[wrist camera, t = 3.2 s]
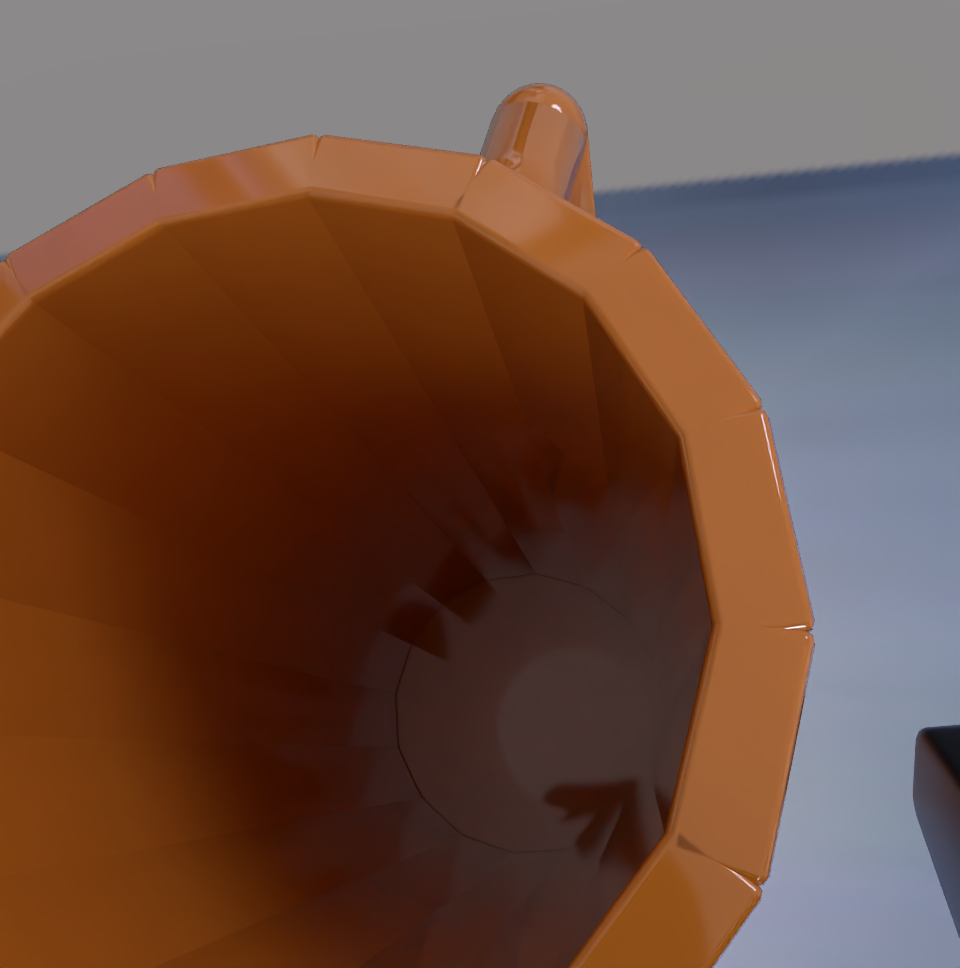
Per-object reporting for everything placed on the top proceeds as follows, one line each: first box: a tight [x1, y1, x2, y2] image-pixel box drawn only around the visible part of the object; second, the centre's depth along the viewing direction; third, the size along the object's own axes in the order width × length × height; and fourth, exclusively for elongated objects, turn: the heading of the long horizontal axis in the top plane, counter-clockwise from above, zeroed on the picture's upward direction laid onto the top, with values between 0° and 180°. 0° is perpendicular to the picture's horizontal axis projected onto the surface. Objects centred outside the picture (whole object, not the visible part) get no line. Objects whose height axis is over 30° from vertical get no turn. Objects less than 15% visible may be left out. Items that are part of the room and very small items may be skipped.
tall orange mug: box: [0, 83, 815, 968], centre depth 11 cm, size 9×6×13 cm
